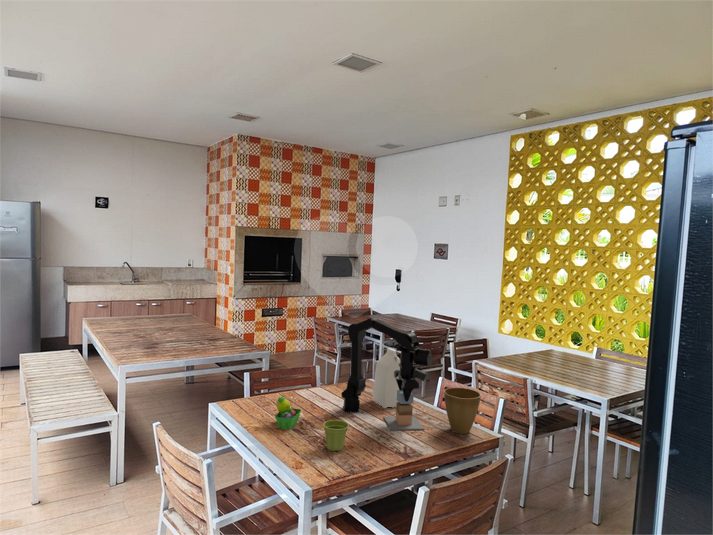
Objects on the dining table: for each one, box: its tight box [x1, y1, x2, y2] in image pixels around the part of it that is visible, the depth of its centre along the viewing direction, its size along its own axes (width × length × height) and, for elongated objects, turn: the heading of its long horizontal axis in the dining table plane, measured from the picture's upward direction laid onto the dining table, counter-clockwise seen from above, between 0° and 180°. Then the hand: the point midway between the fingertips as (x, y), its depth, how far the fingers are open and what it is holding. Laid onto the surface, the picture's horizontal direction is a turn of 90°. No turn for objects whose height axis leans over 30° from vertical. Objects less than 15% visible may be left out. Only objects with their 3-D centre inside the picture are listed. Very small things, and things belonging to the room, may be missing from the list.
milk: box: [372, 347, 400, 409], centre depth 226 cm, size 12×12×26 cm
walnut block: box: [395, 402, 414, 416], centre depth 200 cm, size 6×6×4 cm
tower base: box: [383, 410, 425, 431], centre depth 200 cm, size 14×14×5 cm
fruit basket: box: [274, 396, 302, 430], centre depth 192 cm, size 11×9×11 cm
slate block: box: [396, 390, 415, 405], centre depth 200 cm, size 6×6×4 cm
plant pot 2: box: [443, 387, 482, 435], centre depth 196 cm, size 15×15×16 cm
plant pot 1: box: [322, 419, 350, 452], centre depth 172 cm, size 9×9×9 cm
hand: (404, 399), depth 200 cm, fingers closed on slate block, 6 cm apart
